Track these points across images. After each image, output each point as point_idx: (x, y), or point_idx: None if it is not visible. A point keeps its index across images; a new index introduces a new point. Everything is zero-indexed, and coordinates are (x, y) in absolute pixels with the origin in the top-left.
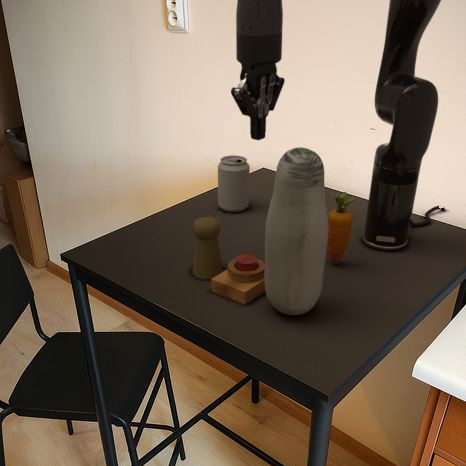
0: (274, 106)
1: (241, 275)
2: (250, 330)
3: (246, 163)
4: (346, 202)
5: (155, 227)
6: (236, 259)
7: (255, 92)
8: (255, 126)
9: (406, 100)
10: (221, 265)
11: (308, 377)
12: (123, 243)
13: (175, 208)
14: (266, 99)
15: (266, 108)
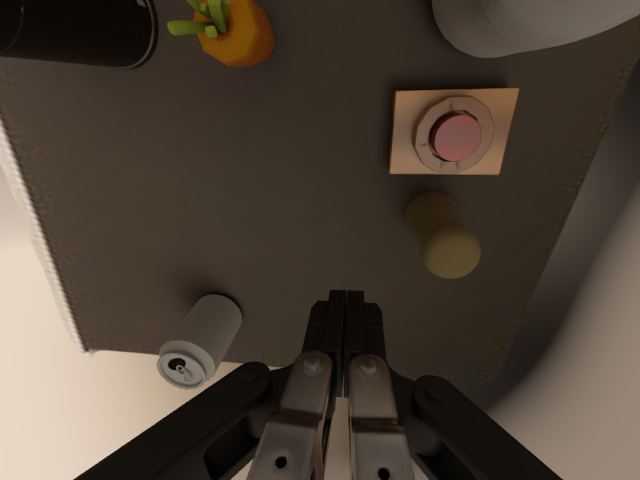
0: (230, 377)
1: (492, 120)
2: None
3: (168, 350)
4: (197, 6)
5: None
6: (470, 154)
7: None
8: (383, 342)
9: None
10: (425, 199)
11: None
12: (419, 355)
13: (283, 365)
14: (317, 442)
15: (313, 387)
